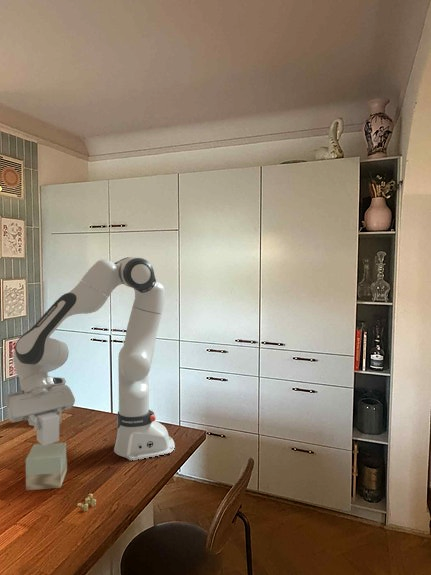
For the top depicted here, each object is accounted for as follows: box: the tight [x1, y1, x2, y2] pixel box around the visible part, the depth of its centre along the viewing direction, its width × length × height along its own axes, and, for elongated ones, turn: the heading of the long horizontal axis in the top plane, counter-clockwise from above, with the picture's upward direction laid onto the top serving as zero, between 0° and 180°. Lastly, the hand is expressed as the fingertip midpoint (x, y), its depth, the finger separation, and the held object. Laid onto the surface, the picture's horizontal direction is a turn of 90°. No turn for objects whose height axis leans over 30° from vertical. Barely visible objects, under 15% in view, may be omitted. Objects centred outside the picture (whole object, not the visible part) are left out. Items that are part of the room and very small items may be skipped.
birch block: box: [25, 456, 68, 491], centre depth 126 cm, size 10×10×5 cm
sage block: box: [25, 441, 67, 477], centre depth 125 cm, size 10×10×5 cm
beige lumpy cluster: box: [76, 493, 97, 512], centre depth 113 cm, size 5×5×2 cm
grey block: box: [36, 412, 60, 446], centre depth 125 cm, size 5×5×8 cm
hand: (48, 426), depth 124 cm, fingers closed on grey block, 5 cm apart
